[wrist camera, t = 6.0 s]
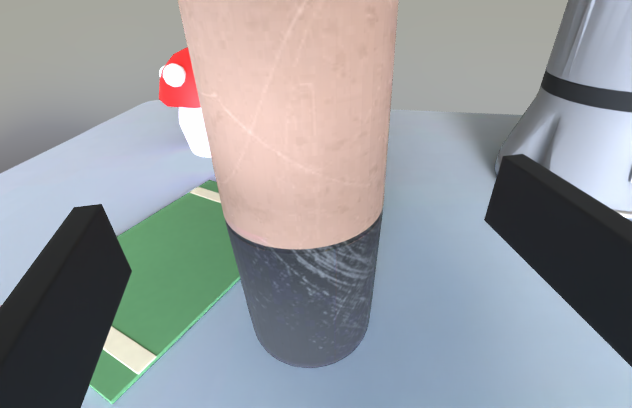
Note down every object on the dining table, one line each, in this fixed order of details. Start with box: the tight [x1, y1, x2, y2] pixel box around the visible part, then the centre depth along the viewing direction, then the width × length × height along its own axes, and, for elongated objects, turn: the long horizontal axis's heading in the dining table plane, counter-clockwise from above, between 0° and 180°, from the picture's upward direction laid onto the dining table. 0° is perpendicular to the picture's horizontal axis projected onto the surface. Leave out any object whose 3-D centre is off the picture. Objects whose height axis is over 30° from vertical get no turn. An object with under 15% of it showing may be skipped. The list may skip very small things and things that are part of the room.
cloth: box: [89, 180, 240, 404], centre depth 27 cm, size 19×12×1 cm, turn 150°
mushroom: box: [159, 47, 211, 157], centre depth 41 cm, size 11×11×12 cm
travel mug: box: [178, 0, 398, 368], centre depth 16 cm, size 8×8×20 cm
